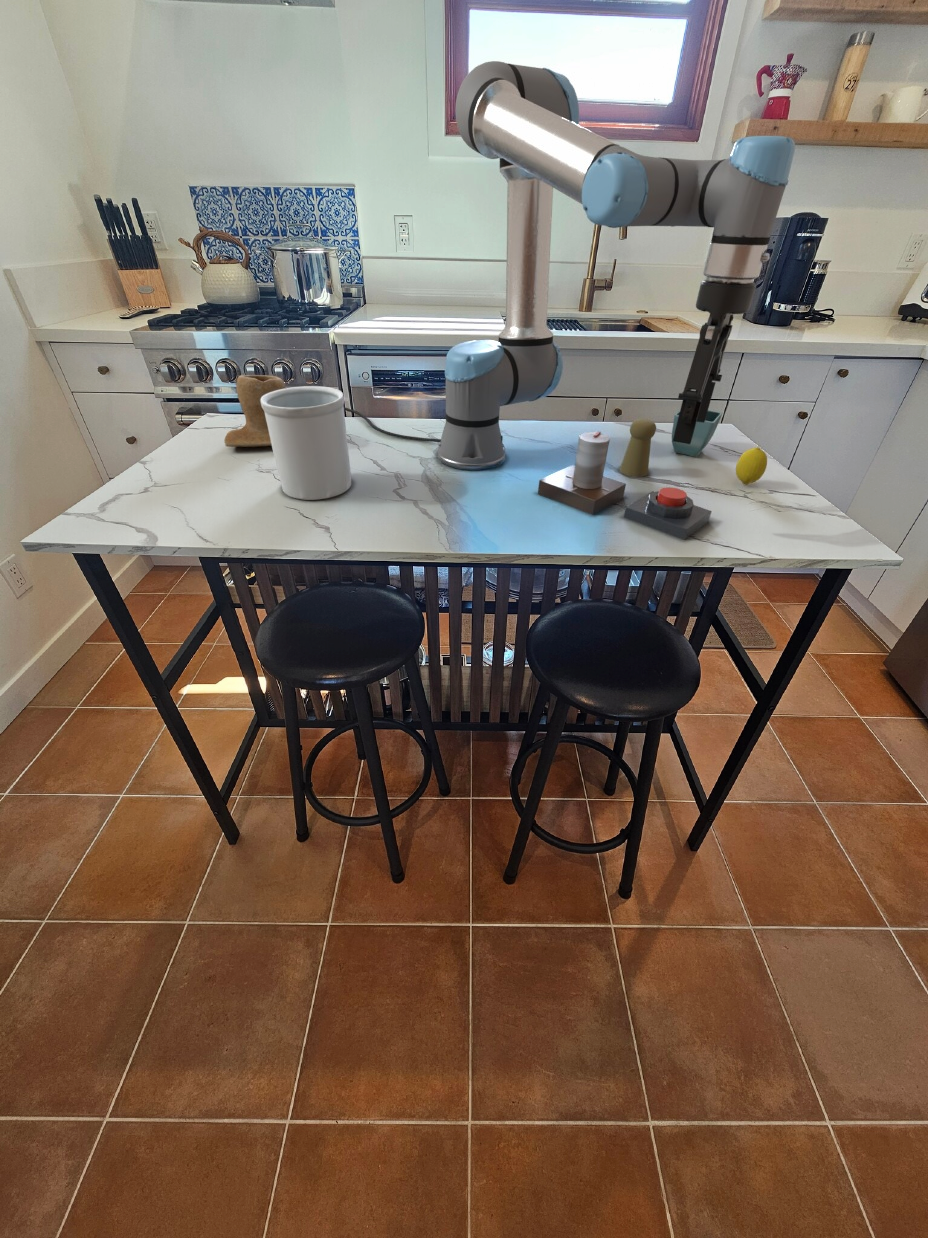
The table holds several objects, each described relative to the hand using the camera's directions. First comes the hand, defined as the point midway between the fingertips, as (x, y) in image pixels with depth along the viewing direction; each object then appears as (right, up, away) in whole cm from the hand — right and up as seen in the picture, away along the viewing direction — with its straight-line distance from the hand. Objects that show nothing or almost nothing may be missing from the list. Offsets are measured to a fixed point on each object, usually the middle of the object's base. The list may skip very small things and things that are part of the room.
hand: (689, 431), depth 92 cm
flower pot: (+15, +8, +38) cm, 42 cm away
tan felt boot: (-85, +10, +38) cm, 94 cm away
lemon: (+21, -3, +24) cm, 32 cm away
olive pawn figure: (-1, +1, +28) cm, 28 cm away
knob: (-14, -5, +15) cm, 21 cm away
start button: (0, -10, +8) cm, 13 cm away
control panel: (-15, -7, +18) cm, 24 cm away
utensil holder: (-68, -5, +19) cm, 70 cm away
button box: (0, -13, +10) cm, 16 cm away
